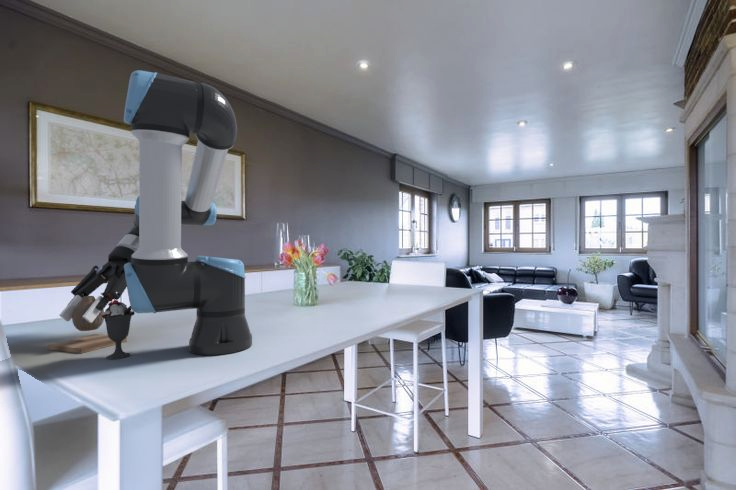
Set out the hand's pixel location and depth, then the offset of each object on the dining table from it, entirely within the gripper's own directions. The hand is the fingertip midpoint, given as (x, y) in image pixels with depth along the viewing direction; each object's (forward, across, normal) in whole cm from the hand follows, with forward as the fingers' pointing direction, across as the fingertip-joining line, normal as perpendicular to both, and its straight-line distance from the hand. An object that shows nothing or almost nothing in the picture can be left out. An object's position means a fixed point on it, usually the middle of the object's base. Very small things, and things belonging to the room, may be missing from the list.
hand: (75, 318), depth 98 cm
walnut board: (+3, 0, -8) cm, 8 cm away
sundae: (+8, -17, -3) cm, 19 cm away
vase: (0, 0, -5) cm, 5 cm away
